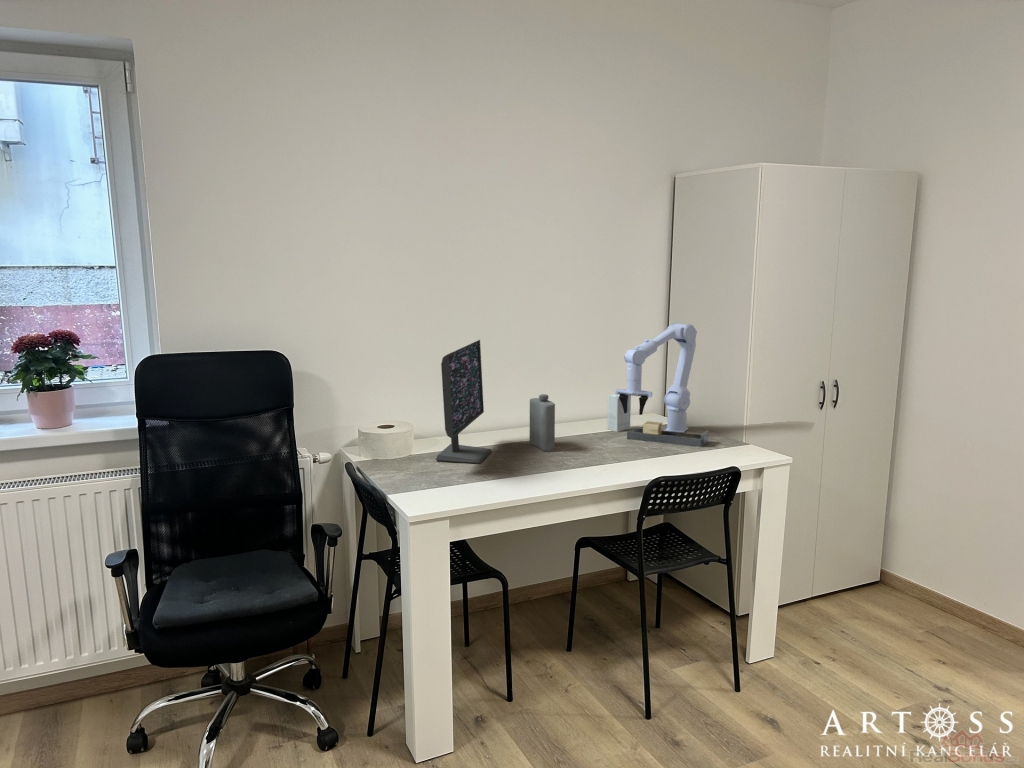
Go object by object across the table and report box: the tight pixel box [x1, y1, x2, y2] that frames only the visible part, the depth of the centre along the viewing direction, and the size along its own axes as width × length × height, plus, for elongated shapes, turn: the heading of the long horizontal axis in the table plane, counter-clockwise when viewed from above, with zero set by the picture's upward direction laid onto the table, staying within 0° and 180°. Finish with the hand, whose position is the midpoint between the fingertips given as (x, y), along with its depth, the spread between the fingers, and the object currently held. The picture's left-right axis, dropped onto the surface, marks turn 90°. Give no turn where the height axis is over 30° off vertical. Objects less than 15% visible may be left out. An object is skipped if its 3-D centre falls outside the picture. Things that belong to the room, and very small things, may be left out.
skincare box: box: [606, 393, 632, 433], centre depth 317 cm, size 8×6×15 cm
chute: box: [626, 427, 710, 448], centre depth 299 cm, size 9×30×4 cm, turn 64°
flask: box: [529, 393, 556, 452], centre depth 288 cm, size 15×6×20 cm, turn 24°
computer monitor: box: [435, 339, 492, 464], centre depth 273 cm, size 44×16×40 cm, turn 168°
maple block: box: [642, 421, 663, 435], centre depth 302 cm, size 6×6×5 cm
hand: (633, 413), depth 304 cm, fingers open, 6 cm apart
